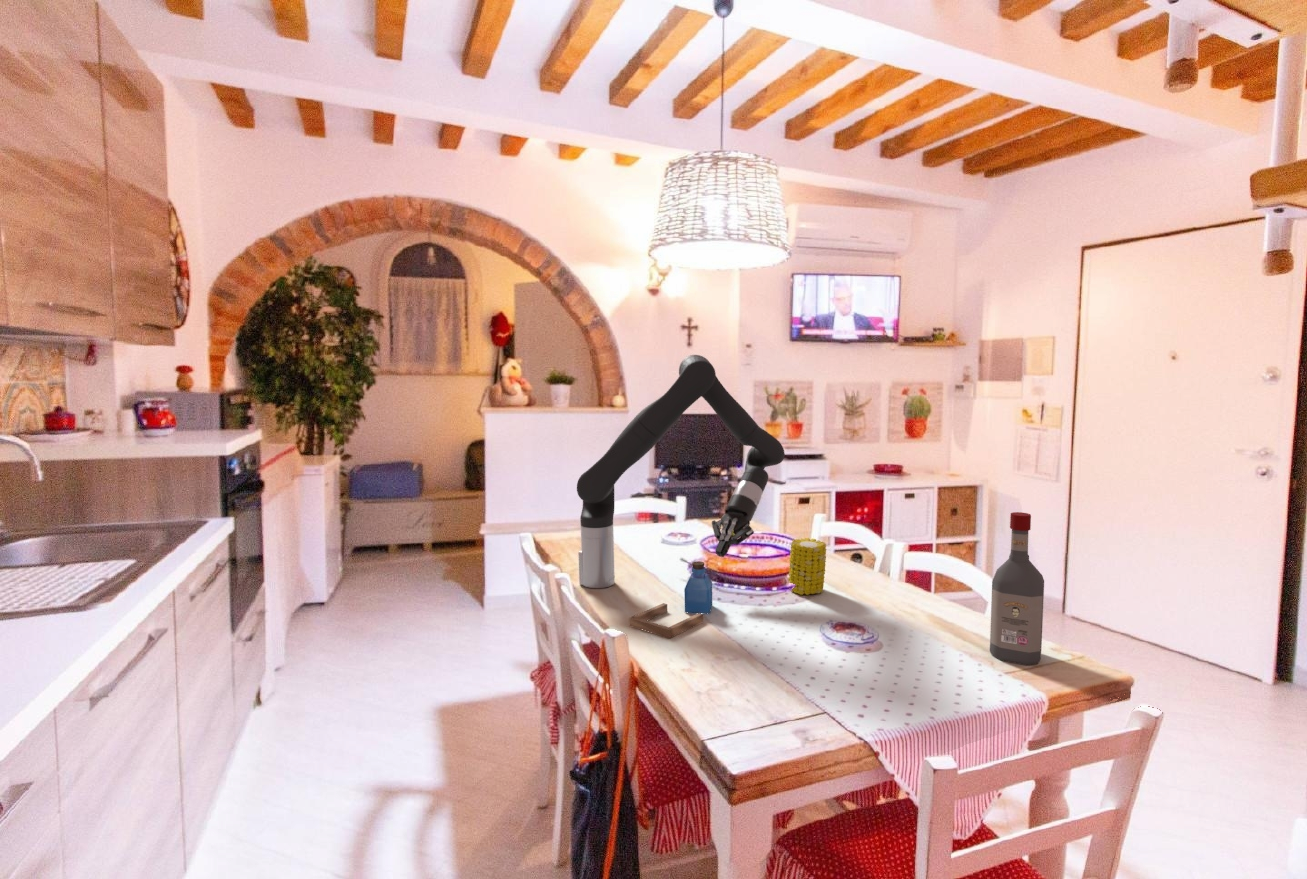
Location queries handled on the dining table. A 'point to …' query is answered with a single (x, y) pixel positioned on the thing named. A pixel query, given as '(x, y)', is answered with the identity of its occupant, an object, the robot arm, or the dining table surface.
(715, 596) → the dining table surface
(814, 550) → the food
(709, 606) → the perfume bottle
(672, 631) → the frame
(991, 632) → the liquor
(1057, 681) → the dining table surface
